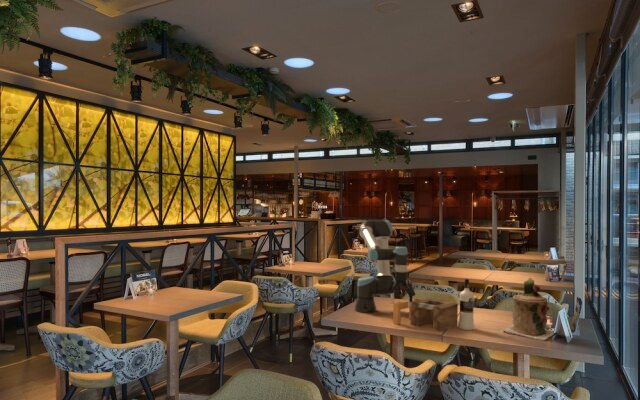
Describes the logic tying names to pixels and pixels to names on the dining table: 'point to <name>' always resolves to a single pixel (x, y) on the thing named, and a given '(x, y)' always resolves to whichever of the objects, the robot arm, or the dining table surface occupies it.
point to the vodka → (466, 308)
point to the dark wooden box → (434, 313)
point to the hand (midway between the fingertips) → (400, 305)
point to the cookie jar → (530, 313)
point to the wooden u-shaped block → (396, 310)
